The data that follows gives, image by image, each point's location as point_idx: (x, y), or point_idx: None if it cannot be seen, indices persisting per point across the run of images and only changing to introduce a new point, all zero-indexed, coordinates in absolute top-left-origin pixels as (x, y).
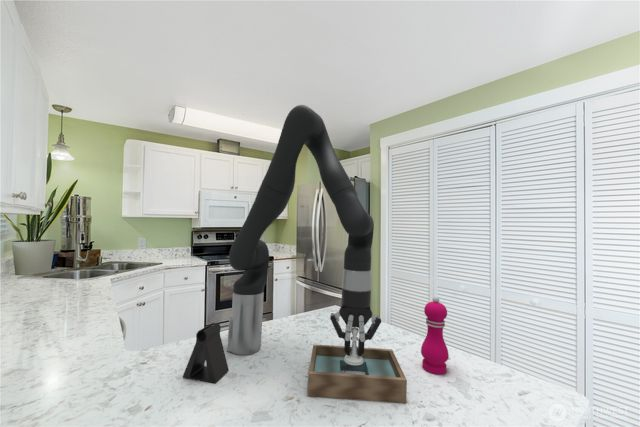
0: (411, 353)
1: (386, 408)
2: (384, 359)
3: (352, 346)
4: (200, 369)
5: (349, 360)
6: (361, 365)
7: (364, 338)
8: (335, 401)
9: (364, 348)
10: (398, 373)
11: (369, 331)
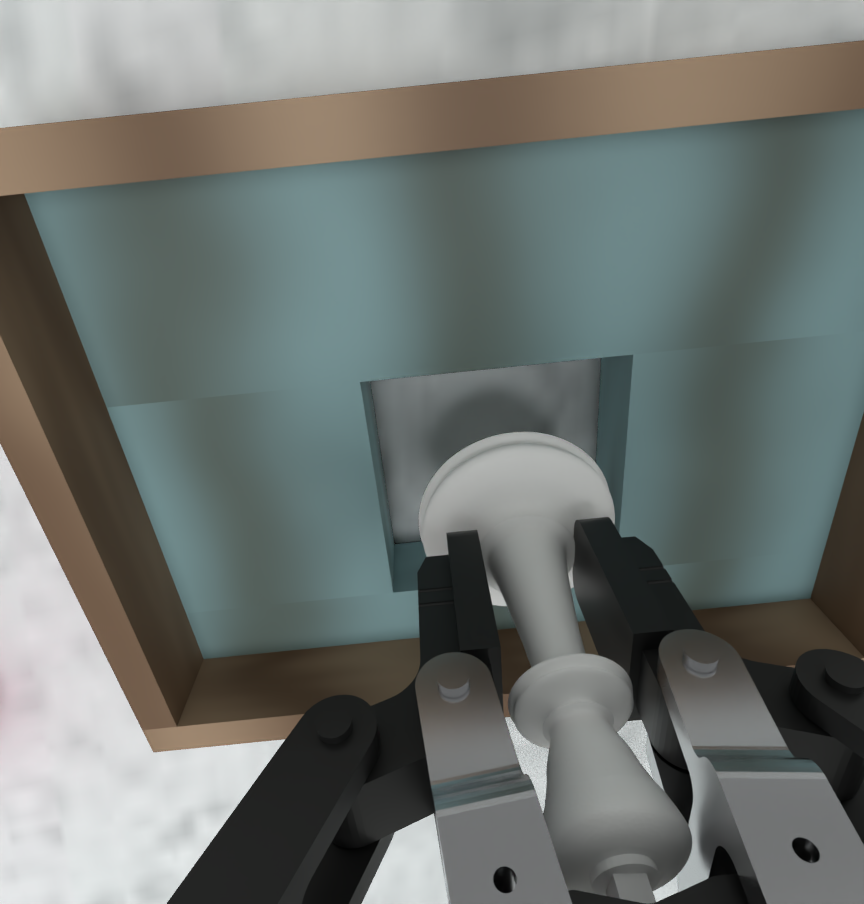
0: (87, 810)
1: (193, 12)
2: (239, 657)
3: (570, 608)
4: None
5: (571, 466)
6: None
7: (424, 701)
8: (667, 27)
9: None
10: (20, 342)
11: (341, 865)
